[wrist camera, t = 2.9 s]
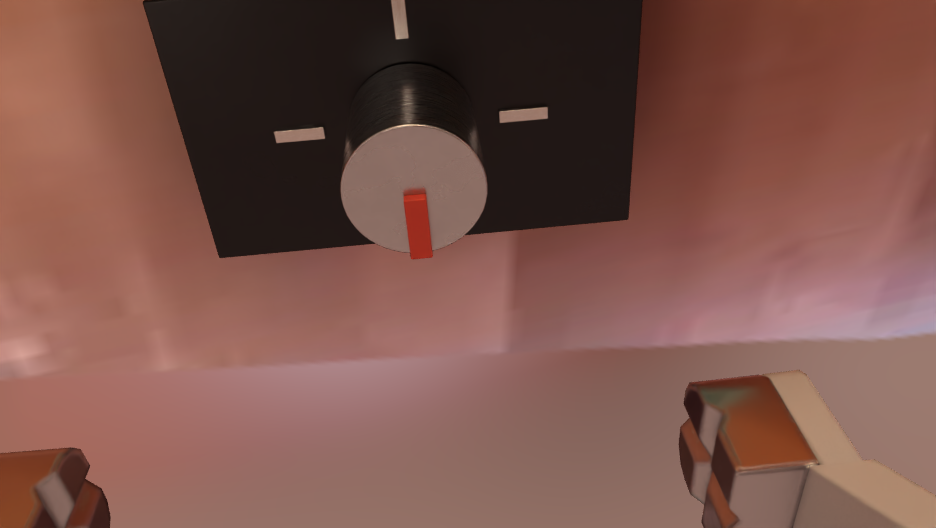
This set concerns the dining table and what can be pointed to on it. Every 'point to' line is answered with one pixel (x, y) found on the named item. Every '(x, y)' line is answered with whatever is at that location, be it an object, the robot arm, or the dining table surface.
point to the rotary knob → (413, 161)
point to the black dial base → (368, 52)
